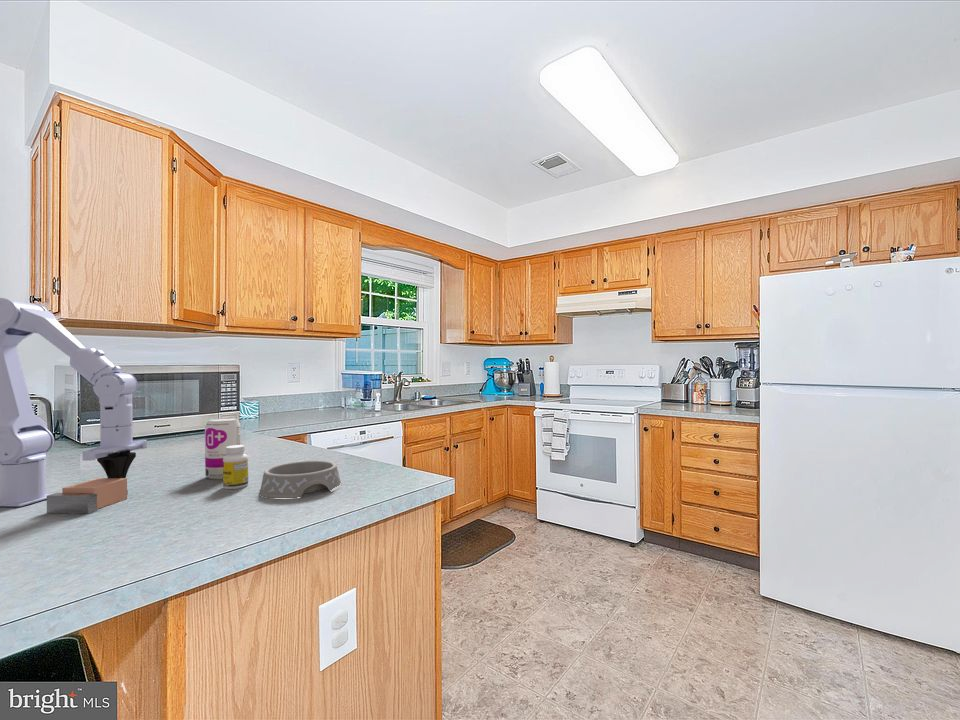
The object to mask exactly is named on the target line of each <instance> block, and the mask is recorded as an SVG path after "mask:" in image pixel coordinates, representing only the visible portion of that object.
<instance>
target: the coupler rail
mask: <svg viewBox="0 0 960 720" xmlns="http://www.w3.org/2000/svg"><path fill="white" fill-rule="evenodd" d="M50 494H51V495H47V499H46V514H72V513H82V514H81V515H83V513H84V515H89V514H91V512H92V513H94V512H97V511H98V509H97V493H62V492H55V493H50ZM127 496H129V495H128V489H127ZM88 513H89V514H88Z"/></svg>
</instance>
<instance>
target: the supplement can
mask: <svg viewBox="0 0 960 720" xmlns="http://www.w3.org/2000/svg"><path fill="white" fill-rule="evenodd" d="M241 429H242V427H241V422H240V420H239V419H238V418H237V417H236V418H235V417H224V418H212V419H208V420H207V422H206V424H205V425H204V459H205V460H204V464H205V465H204V469H205V470H204V473H205V474H204V475H205V477H207V478H208V479H210V480H223V458H224V457H225V456H227V453H226V447H227V446H232V445H242V444H241V443H242V439H241V437H242V436H241V434H242V433H241Z"/></svg>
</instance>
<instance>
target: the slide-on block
mask: <svg viewBox="0 0 960 720" xmlns="http://www.w3.org/2000/svg"><path fill="white" fill-rule="evenodd" d="M61 490H62V491H61V493H97V510H98V509H101V508H105V507H107V506H110V505H114V504H115V503H119V502H121V501H124V500H127V499H128V495H127V490H128V478H127V477H126V478H108V477H103V478H102V477H97V478H94V479H90V480H86V481H82V482H79V483H75V484H71V485H67V486H64V487H62V489H61Z"/></svg>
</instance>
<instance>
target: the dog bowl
mask: <svg viewBox="0 0 960 720" xmlns="http://www.w3.org/2000/svg"><path fill="white" fill-rule="evenodd" d="M261 479H262V481H261V485H260V489H259V492H258V494H260V495H261V496H260V495H259V496H260V497H262V496H263V497H262V498H264V497H267V498H266V499H268V498H297V497H301V498H302V496H303V494H307V493H314V492H317V491H316V490H318V491H321V490H323V488H324V489H326V488H327V490H328V491H329V490H332V489H333V488H335V487H337V486H339V485H340V483H341V484H342V482H341V477H340V474H339V470H338V466H337V464H336V463H335V462H333V461H330V460H329V461H327V460H301V461H293V462H286V463H280V464H277V465H273V466H269V467H268V468H266V469H265V470H264V472H263V475H262V478H261ZM325 487H326V488H325ZM320 489H321V490H320Z"/></svg>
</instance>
